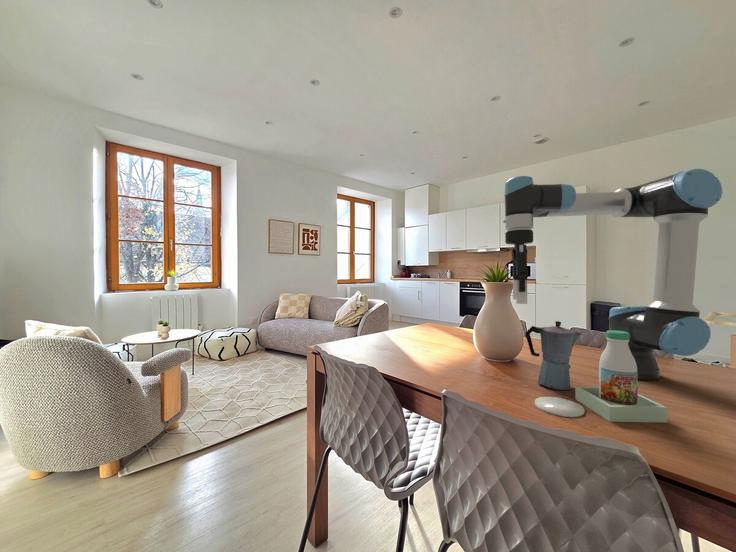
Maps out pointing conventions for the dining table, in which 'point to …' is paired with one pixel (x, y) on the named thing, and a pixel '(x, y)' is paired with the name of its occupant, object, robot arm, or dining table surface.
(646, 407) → the green square tray
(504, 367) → the dining table surface
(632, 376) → the milk bottle
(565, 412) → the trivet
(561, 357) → the moka pot
